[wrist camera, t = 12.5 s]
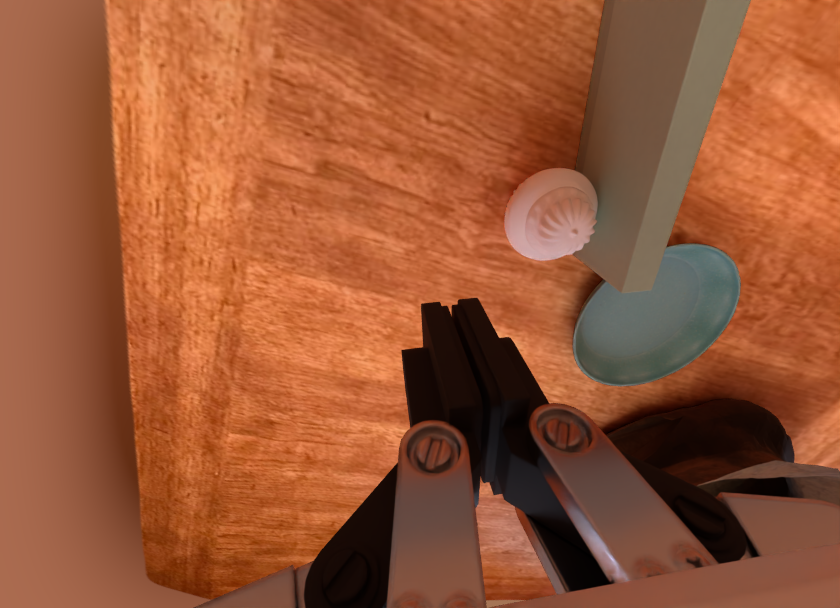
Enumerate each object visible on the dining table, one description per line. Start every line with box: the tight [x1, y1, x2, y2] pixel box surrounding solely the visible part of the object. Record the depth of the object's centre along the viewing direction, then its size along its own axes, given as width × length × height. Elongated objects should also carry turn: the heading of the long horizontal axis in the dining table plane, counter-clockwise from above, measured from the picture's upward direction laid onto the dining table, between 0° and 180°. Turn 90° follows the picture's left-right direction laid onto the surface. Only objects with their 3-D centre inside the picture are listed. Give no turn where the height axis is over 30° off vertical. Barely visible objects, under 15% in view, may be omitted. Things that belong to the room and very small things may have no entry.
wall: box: [573, 0, 751, 293], centre depth 20 cm, size 18×5×8 cm, turn 3°
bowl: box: [606, 399, 840, 506], centre depth 41 cm, size 34×33×15 cm
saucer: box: [573, 243, 741, 386], centre depth 31 cm, size 15×15×3 cm
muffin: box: [504, 168, 598, 260], centre depth 23 cm, size 6×6×7 cm
